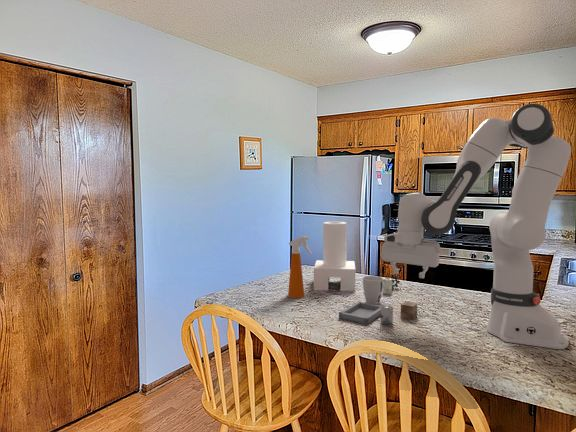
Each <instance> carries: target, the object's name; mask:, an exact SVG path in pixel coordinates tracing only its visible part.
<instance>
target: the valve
mask: <svg viewBox="0 0 576 432" xmlns="http://www.w3.org/2000/svg"><path fill="white" fill-rule="evenodd" d="M398 279H399V276H398V275H395V274H393V273H392V274H391V276H390V275H389V274H388V275H386V277H383V289H382V294H384V295H392V290H393V289H394V287H395V288H398V287H399V285H398V284H400V283H401V281H400V280H398Z"/></svg>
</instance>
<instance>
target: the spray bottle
mask: <svg viewBox="0 0 576 432" xmlns="http://www.w3.org/2000/svg"><path fill="white" fill-rule="evenodd" d="M309 239H310V237H309V235H308V236H307V235H303V236H300V237H297V238H295V239H292V240H291V241H290V242H288V245H289V246H292V248H291V257H290V268H289V270H290V271H289V283H288V292H287V296H288V298H291V299H303V298H304V297H305V289H304V288H305V287H304V277H303V267H302V257H301V248H300V246H301V247H302V248H304V250H305V251H306V252H308V253H309V254H311V255H313V253H312V251H311V249H310V248H309V247H308V244H307V243H308V242H307V241H308V240H309Z"/></svg>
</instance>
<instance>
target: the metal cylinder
mask: <svg viewBox="0 0 576 432" xmlns="http://www.w3.org/2000/svg"><path fill="white" fill-rule="evenodd" d="M380 306H381V316H380V325H382V326H384V327H386V326H387V327H389V326H390V327H391V326H392V325H393V324H394V323H393V322H394V321H393V320H394V317H393V316H394V307H393V306H392V305H390V304H389V305H388V304H383V305H380Z"/></svg>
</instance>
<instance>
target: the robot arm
mask: <svg viewBox="0 0 576 432" xmlns="http://www.w3.org/2000/svg"><path fill="white" fill-rule="evenodd" d="M554 132H555V130H554V125H553V117H552V114H551V112H550V110H549V109H548V108H547V107H545V106H544V105H542V104H539V103H528V104H525V105H522V106H520V107H519V108H518V109H516V111H515V112H514V113H513V115H512V116H511V118H510V120H504V119H501V118H498V117H489V118H487V119H486V120H484V121H483V122H481V124H480V125H479V126H478V128H476V130H474V132H473V133H472V134H471V136H470V137H469V138H468V140H467V141H466V142H465V144H464V146H463V148H462V150H461V152H460V154H459V156H458V158H457V161H456V168H455V172H454V175H453V177H452V178H451V181H449V184H448V185H447V187H446V188H445V190H444V191H443V193H442V194H441V196H440V197H439V198H438V199H437V200H434V199H432V198H430V197H428V196H426V195H425V194H424V193H422V192H413V193H412V192H411V193H410V192H409V193H406V194H403V196H401V197H400V199H399V203H398V212H397V219H398V226H397V232H394V233H393V232H392V233H390V234H387V235H385V236H384V237H383V240H384V243H383V244H382V246H381V253H380V258H381V260H382V261H385V262H390V266H391V268H392V272H393V273H392V274H394V275H399V272H400V269H399V268H397V266H396V265H397V263H398V264H406V265H407V264H408V265H414V266H422V272H421V271H420V272H419V273H418V278H419V279H425V275H426V272H427V271H428V270H429V268H437V267H438V266H439V264H440V251H441V245H440V243H439V242H438V241H437V240H436V239H426V238H424V230H425V232H428V233H429V234H432V235H435V236H441V235H445V234H447V233H449V232H450V231H451V230H452V229H453V227H454V224H455V222H456V215H457V211H458V209H459V207H460V206H461V204H462V202H463V201H464V200H465V198H466V196H467V194H469V192H470V190H471V188H472V187H473V186H474V185H475V184H476V183H477V182H478V181H479V180H480V179H481V178H483V177H484V175H485V174H487V172H488V171H490V169H491V168H492V167H493V166H494V165H495V163H496V161H498V159H499V158H500V156H501V154H502V153H503V151H504V150H505V149H506V148H507V147H508V146H509V147H516V148H520V149H527V150H528V152H527V157H526V159H525V161H524V163H523V165H522V168H521V169H520V172H519V173H518V176H517V178H516V181H515V183H514V185H513V187H512V189H511V198H510V199H511V200H510V204H509V207H508V208H509V209H508V211H503V212H500V213H497V214H495V215H494V216H493V217H492V218H491V220H490V222H489V226H488V228H489V232H490V233H489V234H490V243H491V250H492V251H491V252H492V258H493V259H492V260H493V279H492V280H493V282H492V287H491V290H490V305H491V308H490V314H489V318H488V322H487V324H486V326H485V329H486V331H487V332H488V333H490V334H491V335H493V336H495V337H498V339H500V340H501V341H503V342H507V343H514V344H519V345H526V346H533V347H541V348H547V349H553V350H564V349H566V348H568V346H569V344H570V343H569V340H570V339H569V337H568V335H566V334H565V332H562V331H561V326H560V323H559V321H558V319H557V318H556V316H554V315H553V314H552V313H551V312H550V311H548V310H547V309H546V308H544V307H543V306H542V305H540V304H541V301H542V299H541V296H540V293H536V292H535V291H534V290H533V288H534V271H535V270H534V265H533V262H532V259H531V254H530V251H532V250H535V249H537V248H539V247H540V246H542V244H543V243H544V242H545V239H546V236H547V233H546V231H547V230H546V223H547V219H548V215H549V210H550V206H551V203H552V200H553V198H554V196H555V193H556V191H557V189H559V188H558V187H559V185H560V183H561V181H562V179H563V177H564V175H565V171H566V170H567V166H568V163H569V160H570V157H571V153H572V148H571V145H570V144H569V142H568V141H566V140H565V139H563V138H561V137H558V136H557V137H556V136H554V134H555V133H554Z"/></svg>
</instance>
